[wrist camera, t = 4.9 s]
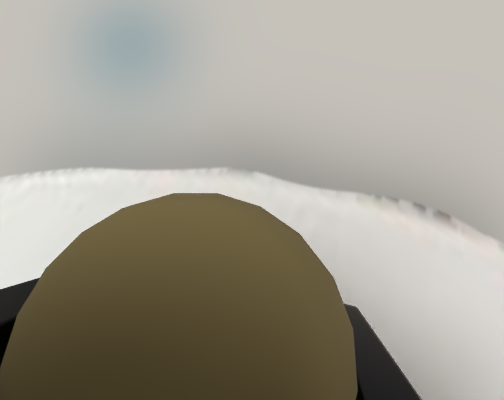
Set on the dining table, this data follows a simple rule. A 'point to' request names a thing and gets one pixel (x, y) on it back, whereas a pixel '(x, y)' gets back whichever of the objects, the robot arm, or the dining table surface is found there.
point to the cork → (183, 311)
